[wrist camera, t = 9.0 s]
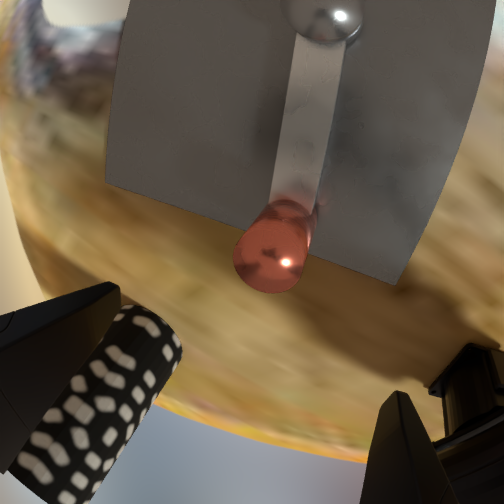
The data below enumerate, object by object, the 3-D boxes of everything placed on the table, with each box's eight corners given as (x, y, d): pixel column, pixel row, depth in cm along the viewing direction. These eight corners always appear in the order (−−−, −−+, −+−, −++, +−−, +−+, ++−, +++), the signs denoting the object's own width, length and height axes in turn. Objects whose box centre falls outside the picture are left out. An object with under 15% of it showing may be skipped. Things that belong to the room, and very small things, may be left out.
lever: (304, -70, 10) (283, -119, 6) (372, -60, 10) (375, -110, 5) (256, 233, 20) (223, 280, 16) (315, 249, 20) (300, 302, 15)
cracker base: (394, 277, 20) (399, 319, 16) (113, 178, 23) (73, 198, 19) (493, -22, 9) (521, -43, 5) (167, -85, 12) (132, -106, 8)
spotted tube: (137, 363, 34) (41, 494, 17) (102, 305, 31) (-22, 439, 14) (195, 368, 31) (96, 533, 14) (160, 303, 28) (17, 480, 11)
